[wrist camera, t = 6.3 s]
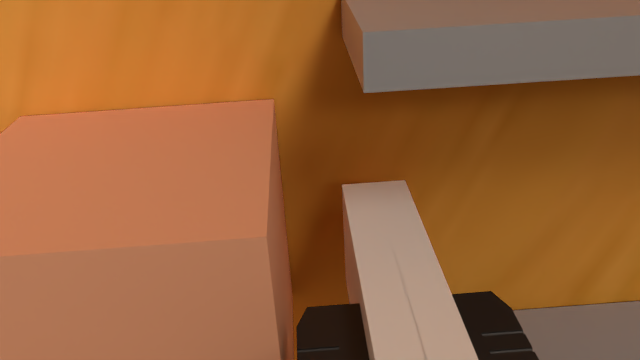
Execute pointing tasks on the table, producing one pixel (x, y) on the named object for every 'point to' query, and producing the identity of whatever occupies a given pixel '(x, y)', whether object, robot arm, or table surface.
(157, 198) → the block
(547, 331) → the chute
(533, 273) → the table surface
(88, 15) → the table surface
